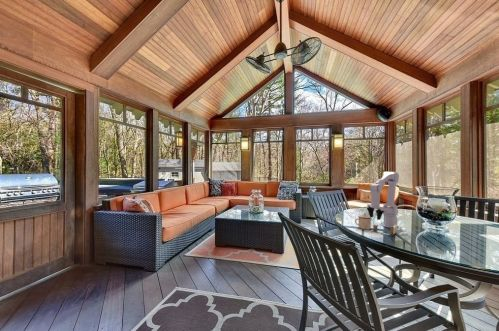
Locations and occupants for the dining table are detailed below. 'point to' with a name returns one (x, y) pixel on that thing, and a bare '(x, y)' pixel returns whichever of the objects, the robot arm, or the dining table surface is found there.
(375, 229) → the post
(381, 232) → the sill strip
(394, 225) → the beige flat panel
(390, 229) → the hinge post
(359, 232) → the dining table surface
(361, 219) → the teacup with lid
